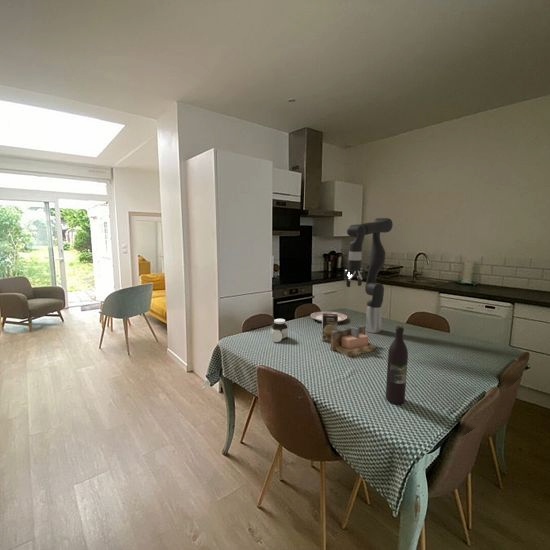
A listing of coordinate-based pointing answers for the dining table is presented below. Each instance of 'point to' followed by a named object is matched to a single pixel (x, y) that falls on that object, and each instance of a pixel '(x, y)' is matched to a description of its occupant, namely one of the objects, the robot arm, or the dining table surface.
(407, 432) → the dining table surface
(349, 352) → the brown grey open box
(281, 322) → the spread jar
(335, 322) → the coffee box
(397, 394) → the wine bottle
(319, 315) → the dinner plate
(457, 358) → the dining table surface
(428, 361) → the dining table surface
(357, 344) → the tan box with handle
